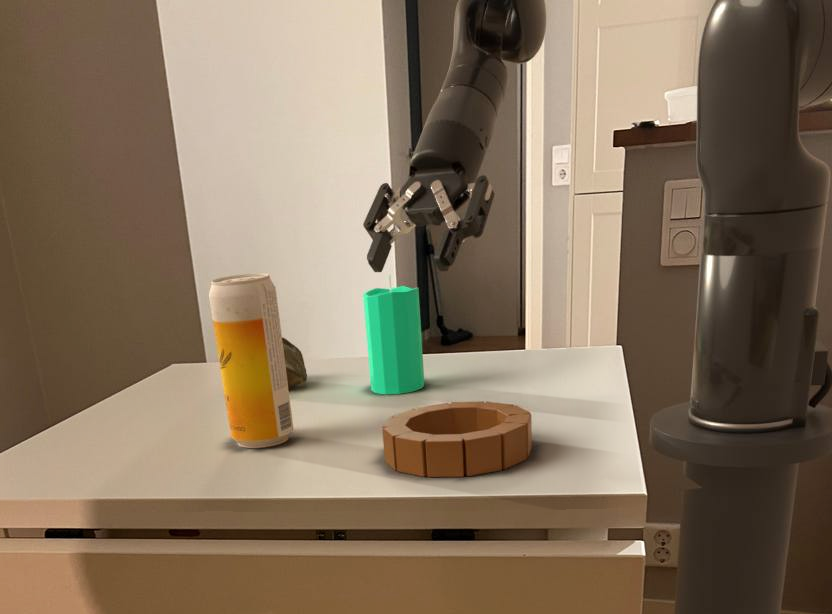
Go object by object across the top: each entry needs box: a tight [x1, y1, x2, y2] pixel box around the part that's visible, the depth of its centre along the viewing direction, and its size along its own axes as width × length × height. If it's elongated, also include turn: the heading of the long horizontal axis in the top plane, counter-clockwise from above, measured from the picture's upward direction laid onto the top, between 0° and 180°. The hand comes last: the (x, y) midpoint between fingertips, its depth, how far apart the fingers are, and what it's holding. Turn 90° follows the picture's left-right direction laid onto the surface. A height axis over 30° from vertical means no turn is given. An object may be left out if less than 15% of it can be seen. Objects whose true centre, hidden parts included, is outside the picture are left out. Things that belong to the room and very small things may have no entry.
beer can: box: [208, 272, 294, 449], centre depth 89 cm, size 6×6×15 cm
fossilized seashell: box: [282, 336, 308, 389], centre depth 113 cm, size 8×7×10 cm
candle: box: [362, 274, 425, 395], centre depth 105 cm, size 6×6×12 cm
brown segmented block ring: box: [381, 400, 533, 478], centre depth 82 cm, size 12×12×3 cm
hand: (406, 267), depth 104 cm, fingers open, 8 cm apart
